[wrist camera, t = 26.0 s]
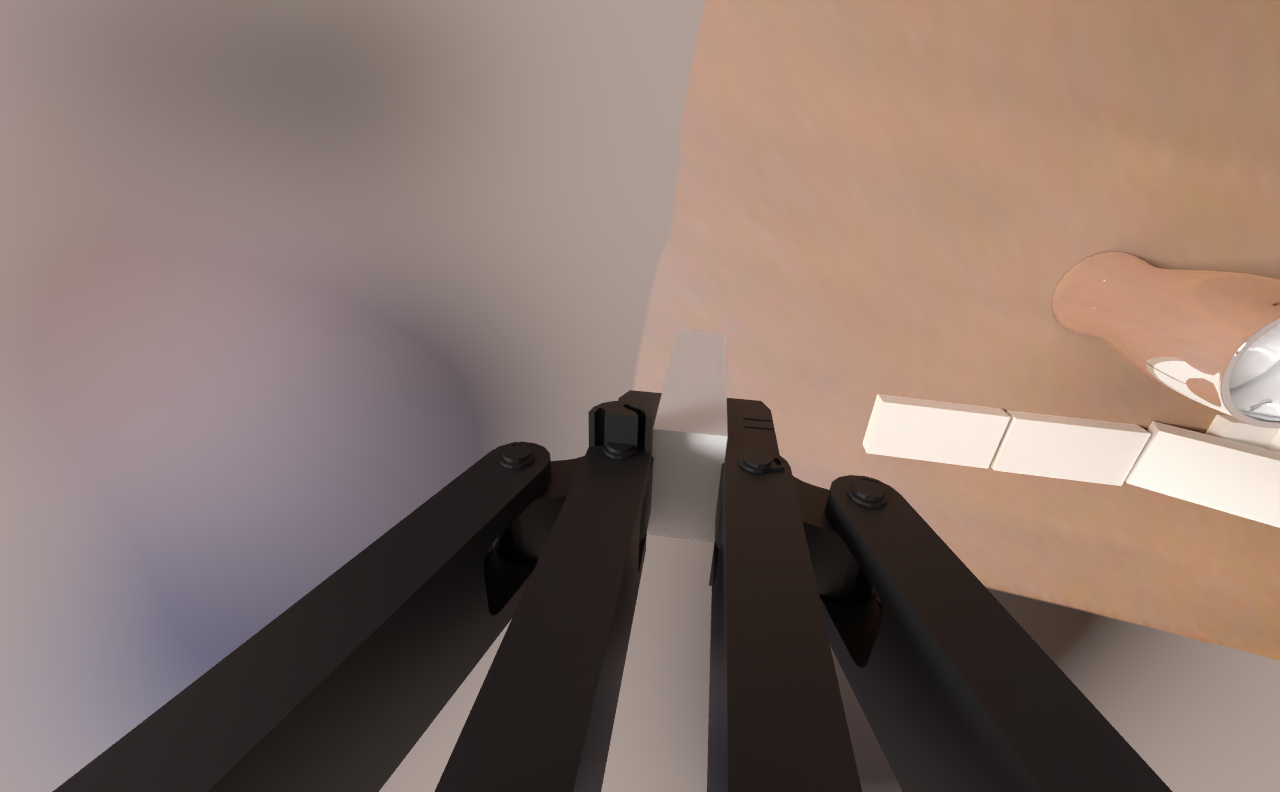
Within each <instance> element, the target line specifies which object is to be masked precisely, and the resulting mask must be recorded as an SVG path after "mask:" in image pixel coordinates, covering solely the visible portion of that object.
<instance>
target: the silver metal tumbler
mask: <svg viewBox="0 0 1280 792" xmlns="http://www.w3.org/2000/svg"><path fill="white" fill-rule="evenodd" d="M1052 309H1053V313H1054V316H1055V318H1056V319H1057V321H1058V322H1059V323H1060V324H1061V325H1062V326H1063V327H1065V328H1066V329H1068V330H1071V331H1073V332H1076V333H1080V334H1085V335H1090V336H1095V337H1098V338H1101V339H1103V340H1104V341H1106V342H1108V343H1109V344H1110V345H1111V346H1112V347H1114V348H1115V349H1116V350H1117V351H1118V352H1119V353H1120V354H1122V355H1123V356H1124V357H1125V358H1126V359H1127V360H1128V361H1130V362H1131V363H1132V364H1133V365H1134V366H1135V367H1137V368H1138V369H1139V370H1141V371H1142V372H1143V373H1145V374H1146V375H1148V376H1149V377H1150V378H1152V379H1153V380H1155V381H1156V382H1158V383H1160V384H1162V385H1163V386H1165V387H1167V388H1169V389H1170V390H1172V391H1174V392H1176V393H1178V394H1180V395H1182V396H1185V397H1187V398H1189V399H1191V400H1193V401H1195V402H1198V403H1200V404H1203V405H1205V406H1207V407H1210V408H1212V409H1215V410H1217V411H1220V412H1222V413H1225V414H1227V415H1230V416H1232V417H1235V418H1237V419H1239V420H1240V421H1242V422H1244V423H1247V424H1250V425H1253V426H1258V427H1264V428H1280V280H1278V279H1274V278H1268V277H1263V276H1258V275H1252V274H1246V273H1235V272H1224V271H1205V270H1174V269H1162V268H1158V267H1154V266H1152V265H1150V264H1148V263H1147V262H1145V261H1143V260H1142V259H1140V258H1138V257H1136V256H1134V255H1131V254H1128V253H1124V252H1105V253H1100V254H1097V255H1094V256H1091V257H1089V258H1086V259H1084V260H1083V261H1081V262H1079V263H1078V264H1076V265H1075V266H1074V267H1072V268H1071V269H1070V270H1069V271H1068V272H1067V273H1066V274H1065V275H1064V276H1063V277H1062V279H1061V280H1060V281H1059V283H1058V285H1057V287H1056V289H1055V291H1054V294H1053V298H1052Z"/></svg>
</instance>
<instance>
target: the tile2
mask: <svg viewBox="0 0 1280 792" xmlns="http://www.w3.org/2000/svg"><path fill="white" fill-rule="evenodd" d="M1006 413H1007V414H1008V415H1009V416H1010V420H1009V422H1008V424H1007V427H1006V429H1005V431H1004V433H1003V436H1002V438H1001V440H1000V442H999V445H998V447H997V449H996V451H995V454H994V456H993V458H992V460H991V463H990V466H991V467H992V469H993V470H995V471H1003V472H1011V473H1019V474H1028V475H1036V476H1044V477H1052V478H1060V479H1068V480H1077V481H1085V482H1093V483H1101V484H1109V485H1118V486H1122V484H1123V482H1124V481H1125V479H1126V477H1127V475H1128V474H1129V472H1130V470H1131V468H1132V467H1133V465H1134V463H1135V461H1136V460H1137V458H1138V456H1139V454H1140V453H1141V451H1142V449H1143V447H1144V446H1145V444H1146V442H1147V440H1148V439H1149V437H1150V435H1151V433H1149V432H1148V431H1146V430H1144V429H1143V428H1141V427H1140V426H1138V425H1136V424H1127V423H1118V422H1109V421H1100V420H1091V419H1082V418H1073V417H1064V416H1055V415H1046V414H1037V413H1028V412H1019V411H1010V410H1007V411H1006Z"/></svg>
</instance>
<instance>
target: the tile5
mask: <svg viewBox="0 0 1280 792" xmlns="http://www.w3.org/2000/svg"><path fill="white" fill-rule="evenodd" d="M1279 430H1280V428H1264V427H1258V426H1253V425H1250V424H1247V423H1244V422H1242V421H1240V420H1239V419H1237V418H1235V417H1232V416H1226V415H1216V417H1215V418H1214V420H1213V422H1212V423H1211V425H1210V427H1209V428H1208V430H1207V432H1206V433H1205V434H1207V435H1211V436H1215V437H1220V438H1224V439H1228V440H1232V441H1236V442H1240V443H1244V444H1248V445H1252V446H1256V447H1260V448H1265V449H1266V448H1267V447H1268V445H1269V444H1270V442H1271V441H1272V440H1273V438H1274V437H1275V435H1276V434H1277V433H1278V431H1279Z"/></svg>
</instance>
